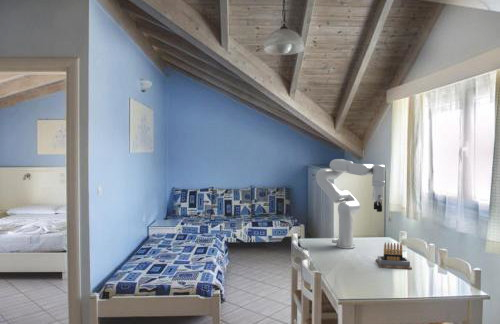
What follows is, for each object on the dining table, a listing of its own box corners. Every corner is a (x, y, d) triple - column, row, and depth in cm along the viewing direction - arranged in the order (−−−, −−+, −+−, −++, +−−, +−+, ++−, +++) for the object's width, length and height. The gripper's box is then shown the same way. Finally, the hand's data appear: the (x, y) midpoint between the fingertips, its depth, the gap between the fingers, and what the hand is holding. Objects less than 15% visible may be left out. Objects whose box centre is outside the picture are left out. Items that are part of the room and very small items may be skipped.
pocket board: (380, 267, 209) (380, 261, 209) (375, 260, 223) (375, 254, 223) (411, 269, 206) (412, 263, 206) (405, 262, 220) (405, 256, 220)
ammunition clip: (383, 262, 215) (384, 242, 214) (382, 261, 216) (383, 241, 216) (402, 263, 213) (403, 243, 213) (401, 262, 215) (402, 242, 215)
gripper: (369, 182, 245) (369, 208, 245) (374, 185, 228) (374, 212, 228) (381, 183, 244) (381, 208, 244) (387, 185, 227) (386, 212, 227)
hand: (377, 210), depth 236 cm, fingers open, 9 cm apart
